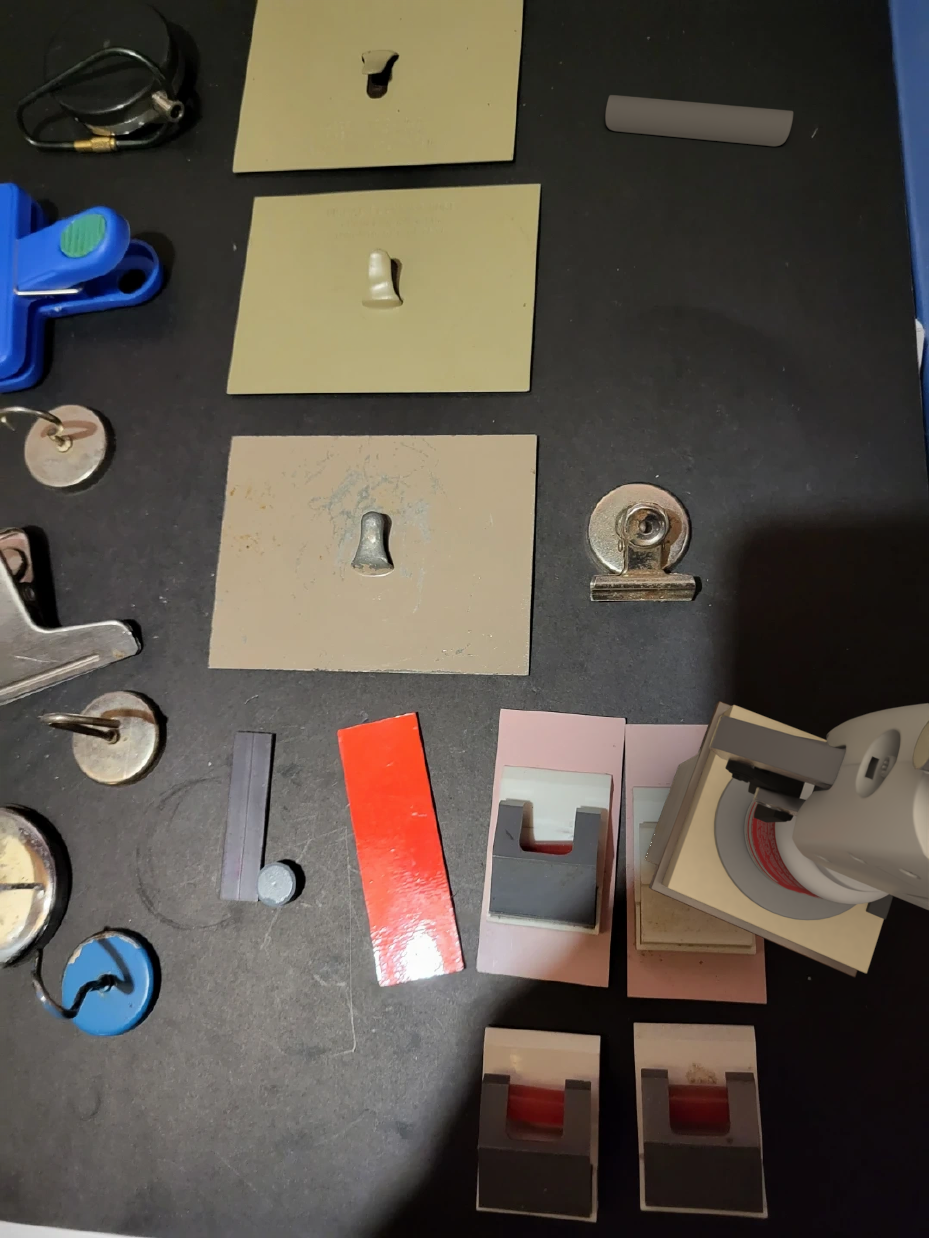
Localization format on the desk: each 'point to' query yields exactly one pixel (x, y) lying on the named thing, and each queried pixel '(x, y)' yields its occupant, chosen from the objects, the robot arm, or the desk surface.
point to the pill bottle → (799, 862)
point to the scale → (732, 883)
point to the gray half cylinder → (698, 120)
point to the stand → (669, 835)
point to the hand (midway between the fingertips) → (886, 830)
